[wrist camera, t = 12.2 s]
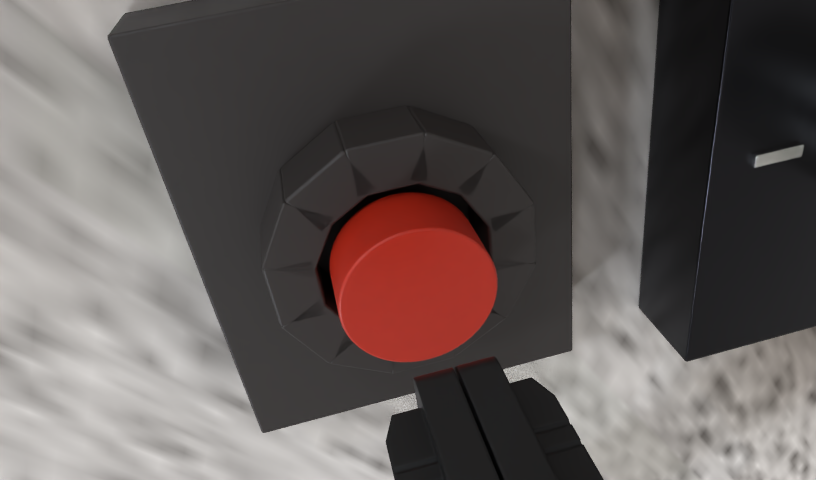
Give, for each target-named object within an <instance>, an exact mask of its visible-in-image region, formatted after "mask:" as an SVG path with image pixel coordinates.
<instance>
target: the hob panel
mask: <svg viewBox="0 0 816 480" xmlns="http://www.w3.org/2000/svg"><path fill="white" fill-rule="evenodd" d="M639 308H640V310H641V311H642V312H643V313H644V314H645V315H646V317H647V318H648V319H649V320H650V321H651V322H652V323H653V325H654V326H655V327H656V328H657V329H658V330H659V331H660V333H661V334H662V335H663V336H664V337H665V338H666V339H667V341H668V342H669V343H670V344H671V345H672V346H673V347H674V349H675V350H676V351H677V352H678V353H679V354H680V356H681V357H682V358H683V359H684V360H685V361H691V360H695V359H698V358H702V357H706V356H709V355H713V354H716V353H720V352H724V351H727V350H731V349H735V348H738V347H742V346H746V345H749V344H753V343H756V342H760V341H764V340H767V339H771V338H775V337H778V336H782V335H786V334H789V333H793V332H796V331H800V330H804V329H807V328H811V327H815V326H816V0H660V5H659V19H658V34H657V49H656V63H655V78H654V92H653V107H652V122H651V136H650V151H649V166H648V180H647V195H646V209H645V224H644V239H643V253H642V268H641V282H640V297H639Z"/></svg>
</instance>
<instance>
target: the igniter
mask: <svg viewBox="0 0 816 480" xmlns="http://www.w3.org/2000/svg"><path fill="white" fill-rule="evenodd" d="M108 40H109V43H110V46H111V48H112V51H113V53H114V56H115V58H116V61H117V63H118V66H119V69H120V71H121V74H122V76H123V79H124V81H125V84H126V86H127V89H128V92H129V94H130V97H131V99H132V102H133V104H134V107H135V109H136V112H137V114H138V117H139V120H140V122H141V125H142V127H143V130H144V132H145V135H146V137H147V140H148V143H149V145H150V148H151V150H152V153H153V155H154V158H155V160H156V163H157V166H158V168H159V171H160V173H161V176H162V178H163V181H164V183H165V186H166V189H167V191H168V194H169V196H170V199H171V201H172V204H173V206H174V209H175V211H176V214H177V217H178V219H179V222H180V224H181V227H182V229H183V232H184V234H185V237H186V240H187V242H188V245H189V247H190V250H191V252H192V255H193V257H194V260H195V263H196V265H197V268H198V270H199V273H200V275H201V278H202V280H203V283H204V286H205V288H206V291H207V293H208V296H209V298H210V301H211V303H212V306H213V308H214V311H215V314H216V316H217V319H218V321H219V324H220V326H221V329H222V331H223V334H224V337H225V339H226V342H227V344H228V347H229V349H230V352H231V354H232V357H233V360H234V362H235V365H236V367H237V370H238V372H239V375H240V377H241V380H242V383H243V385H244V388H245V390H246V393H247V395H248V398H249V400H250V403H251V406H252V408H253V411H254V413H255V416H256V418H257V421H258V423H259V426H260V428H261V431H262V432H263V433H266V432H270V431H273V430H277V429H281V428H285V427H288V426H292V425H296V424H299V423H303V422H307V421H311V420H314V419H318V418H322V417H326V416H329V415H333V414H337V413H341V412H344V411H348V410H352V409H356V408H359V407H363V406H367V405H370V404H374V403H378V402H382V401H385V400H389V399H393V398H397V397H400V396H404V395H408V394H412V393H415V389H414V384H413V378H414V377H418V376H422V375H425V374H429V373H433V372H437V371H440V370H444V369H448V368H453V369H455V366H459V365H462V364H466V363H470V362H474V361H477V360H481V359H485V358H489V357H493V356H494V357H496V358H497V360H498V362H499V363H500V365H501V367H502V369H505V368H509V367H513V366H516V365H520V364H524V363H527V362H531V361H535V360H539V359H542V358H546V357H550V356H554V355H557V354H561V353H565V352H569V351H571V350H572V151H571V0H192V1H187V2H182V3H176V4H171V5H166V6H161V7H156V8H150V9H145V10H140V11H135V12H129V13H125V14H124V15H123V16H122V18H121V19H120V20H119V22H118V23H117V24H116V26H115V27H114V28H113V30H112V31H111V32H110V34H109V35H108ZM406 192H417V193H426V194H431V195H434V196H437V197H440V198H443V199H445V200H446V201H448V202H450V203H452V204H453V205H454V206H456V207H457V208H458V209H459V210H460V211H461V212H462V213H463V214H464V215H465V216H466V218H467V219H468V221H469V222H470V224H471V225H472V227H473V229H474V230H475V232H476V234H477V235H478V237H479V238H480V240H481V242H482V243H483V245H484V247H485V248H486V250H487V252H488V253H489V255H490V257H491V259H492V260H493V262H494V265H495V268H496V272H497V278H498V288H497V295H496V299H495V303H494V306H493V308H492V310H491V313H490V314H489V316H488V318H487V319H486V321H485V322H484V324H483V325H482V326H481V328H480V329H479V330H478V331H477V332H476V333H475V334H474V335H473V336H472V337H471V338H470V339H468V340H467V341H466V342H465V343H463V344H462V345H460V346H459V347H457V348H455V349H454V350H452V351H450V352H448V353H446V354H443V355H441V356H438V357H435V358H432V359H428V360H423V361H417V362H394V361H388V360H384V359H380V358H377V357H375V356H372V355H370V354H368V353H366V352H365V351H363V350H362V349H361V348H359V347H358V346H357V345H356V344H355V343H354V342H353V341H351V339H350V338H349V337H348V335H347V334H346V332H345V331H344V329H343V327H342V324H341V322H340V319H339V314H338V309H337V305H336V300H335V295H334V290H333V285H332V280H331V275H330V265H329V261H330V254H331V250H332V246H333V243H334V241H335V239H336V237H337V235H338V233H339V232H340V230H341V228H342V227H343V226H344V224H345V223H346V222H347V221H348V220H349V219H350V218H351V217H352V216H353V215H354V214H355V213H356V212H357V211H359V210H360V209H361V208H363V207H364V206H366V205H368V204H369V203H371V202H373V201H375V200H377V199H380V198H382V197H385V196H389V195H392V194H398V193H406Z"/></svg>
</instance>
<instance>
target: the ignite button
mask: <svg viewBox="0 0 816 480" xmlns="http://www.w3.org/2000/svg"><path fill="white" fill-rule="evenodd" d="M329 265H330V275H331V280H332V285H333V290H334V295H335V300H336V305H337V309H338V314H339V319H340V322H341V324H342V327H343V329H344V331H345V332H346V334H347V335H348V337H349V338H350V339H351V341H353V342H354V343H355V344H356V345H357V346H358V347H359V348H361V349H362V350H363V351H365V352H366V353H368V354H370V355H372V356H375V357H377V358H380V359H384V360H388V361H394V362H417V361H423V360H428V359H432V358H435V357H438V356H441V355H443V354H446V353H448V352H450V351H452V350H454V349H455V348H457V347H459V346H460V345H462V344H463V343H465V342H466V341H467V340H468V339H470V338H471V337H472V336H473V335H474V334H475V333H476V332H477V331H478V330H479V329H480V328H481V326H482V325H483V324H484V322H485V321H486V319H487V318H488V316H489V314H490V313H491V310H492V308H493V306H494V303H495V299H496V295H497V288H498V278H497V272H496V268H495V265H494V262H493V260H492V259H491V257H490V255H489V253H488V252H487V250H486V248H485V247H484V245H483V243H482V242H481V240H480V238H479V237H478V235H477V234H476V232H475V230H474V229H473V227H472V225H471V224H470V222H469V221H468V219H467V218H466V216H465V215H464V214H463V213H462V212H461V211H460V210H459V209H458V208H457V207H456V206H454V205H453V204H452V203H450V202H448V201H446V200H445V199H443V198H440V197H437V196H434V195H431V194H426V193H417V192H406V193H398V194H392V195H389V196H385V197H382V198H380V199H377V200H375V201H373V202H371V203H369V204H368V205H366V206H364V207H363V208H361V209H360V210H359V211H357V212H356V213H355V214H354V215H353V216H352V217H351V218H350V219H349V220H348V221H347V222H346V223H345V224H344V226H343V227H342V228H341V230H340V232H339V233H338V235H337V237H336V239H335V241H334V243H333V246H332V250H331V254H330V261H329Z"/></svg>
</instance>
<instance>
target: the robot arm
mask: <svg viewBox="0 0 816 480" xmlns="http://www.w3.org/2000/svg"><path fill="white" fill-rule="evenodd" d="M413 384H414V389H415V395H416V400H417V405H418V408H417V409H414V410H410V411H406V412H403V413H399V414H395V415H392V417H391V421H390V426H389V430H388V434H387V439H386V445H387V449H388V454H389V458H390V462H391V466H392V470H393V475H394V479H395V480H603V478H602V476H601V474H600V473H599V471H598V469H597V467H596V466H595V464H594V462H593V461H592V459H591V457H590V455H589V454H588V452H587V450H586V448H585V447H584V445H582V444H581V441H580V438H579V436H578V435H577V433H576V431H575V429H574V428H573V426H572V424H570V423H569V419H568V417H567V416H566V414H565V412H564V410H563V409H562V407H561V405H560V404H559V402H558V400H557V398H556V397H555V395H554V394H552V393H551V392H550V391H548V390H547V389H546V388H545V387H543V386H542V385H541V384H539V383H538V382H537V381H535V380H534V379H533V378H532V377H531V378H528V379H524V380H520V381H516V382H513V383H509V381H508V379H507V377H506V375H505V373H504V371H503V369H502V367H501V365H500V363H499V362H498V360H497V358H496V357H494V356H493V357H489V358H485V359H481V360H477V361H474V362H470V363H466V364H462V365H459V366H455V369H453V368H448V369H444V370H440V371H437V372H433V373H429V374H425V375H422V376H418V377H414V378H413Z"/></svg>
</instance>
